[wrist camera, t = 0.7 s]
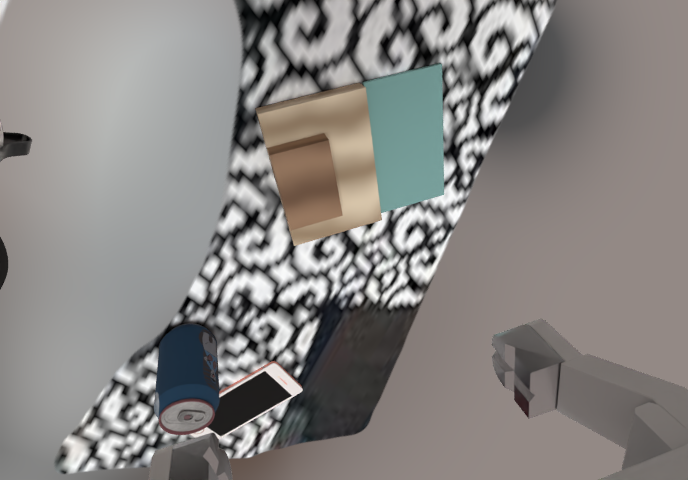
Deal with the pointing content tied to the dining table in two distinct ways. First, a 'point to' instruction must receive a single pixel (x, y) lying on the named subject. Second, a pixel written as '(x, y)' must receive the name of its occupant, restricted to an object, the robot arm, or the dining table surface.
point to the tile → (306, 180)
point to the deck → (332, 151)
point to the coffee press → (3, 147)
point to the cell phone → (251, 399)
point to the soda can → (187, 380)
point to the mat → (407, 135)
